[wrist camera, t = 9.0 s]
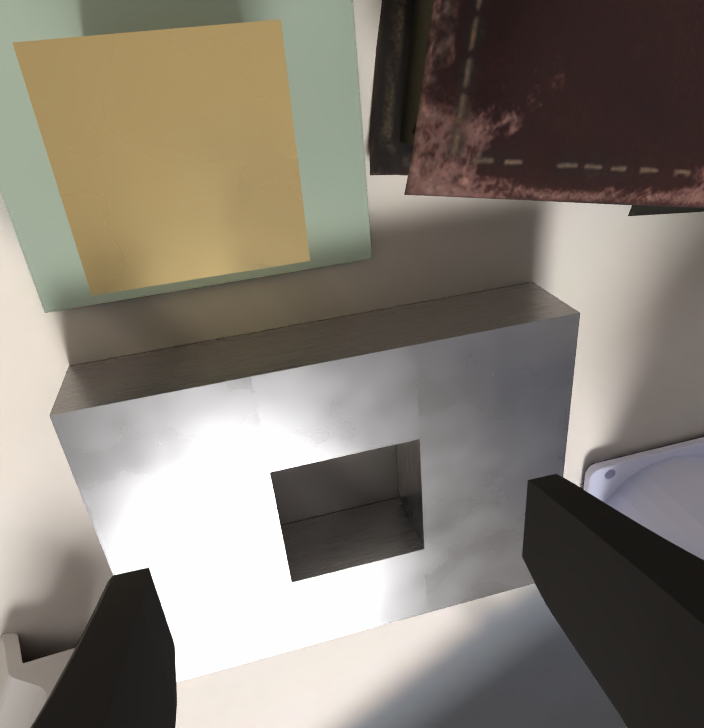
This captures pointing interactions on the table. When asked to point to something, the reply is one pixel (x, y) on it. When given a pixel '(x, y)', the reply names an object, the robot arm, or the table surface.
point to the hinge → (25, 682)
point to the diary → (543, 101)
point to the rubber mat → (310, 117)
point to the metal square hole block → (318, 443)
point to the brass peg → (171, 150)
